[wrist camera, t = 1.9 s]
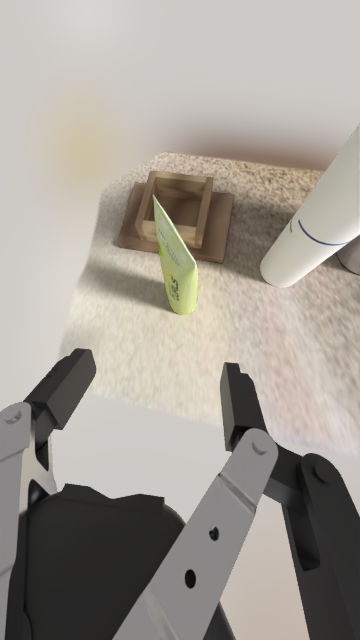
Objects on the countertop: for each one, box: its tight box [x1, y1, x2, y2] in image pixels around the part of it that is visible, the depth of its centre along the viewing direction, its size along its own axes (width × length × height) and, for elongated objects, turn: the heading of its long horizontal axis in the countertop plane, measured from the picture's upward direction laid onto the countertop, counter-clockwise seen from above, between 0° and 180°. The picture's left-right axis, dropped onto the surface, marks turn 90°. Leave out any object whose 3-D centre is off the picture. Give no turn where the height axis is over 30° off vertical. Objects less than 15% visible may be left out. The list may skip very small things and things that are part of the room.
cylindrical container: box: [260, 124, 360, 287], centre depth 23 cm, size 7×7×25 cm
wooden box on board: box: [117, 171, 234, 263], centre depth 35 cm, size 20×14×6 cm
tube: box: [153, 195, 198, 315], centre depth 25 cm, size 6×5×20 cm
